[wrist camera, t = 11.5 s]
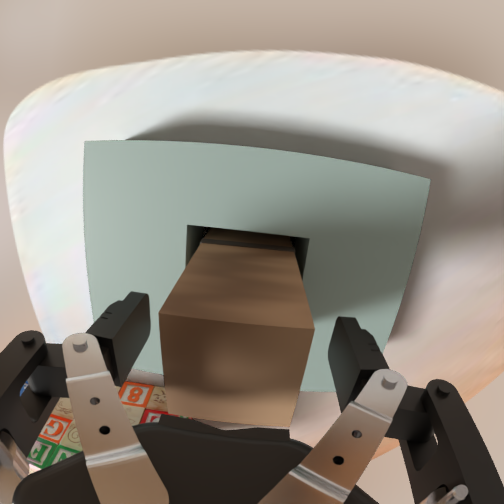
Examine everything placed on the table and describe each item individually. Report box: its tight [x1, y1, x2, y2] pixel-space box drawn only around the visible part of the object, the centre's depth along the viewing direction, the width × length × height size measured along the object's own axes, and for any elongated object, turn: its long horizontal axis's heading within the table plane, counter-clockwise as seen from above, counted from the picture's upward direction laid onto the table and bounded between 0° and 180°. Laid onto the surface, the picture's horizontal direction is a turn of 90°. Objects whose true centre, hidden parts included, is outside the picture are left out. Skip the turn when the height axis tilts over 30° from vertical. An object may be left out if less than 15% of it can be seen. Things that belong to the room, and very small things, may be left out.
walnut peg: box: [158, 227, 315, 427], centre depth 15 cm, size 5×5×12 cm
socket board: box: [83, 140, 431, 392], centre depth 18 cm, size 18×14×5 cm
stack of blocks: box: [20, 381, 192, 473], centre depth 21 cm, size 21×6×12 cm, turn 91°
